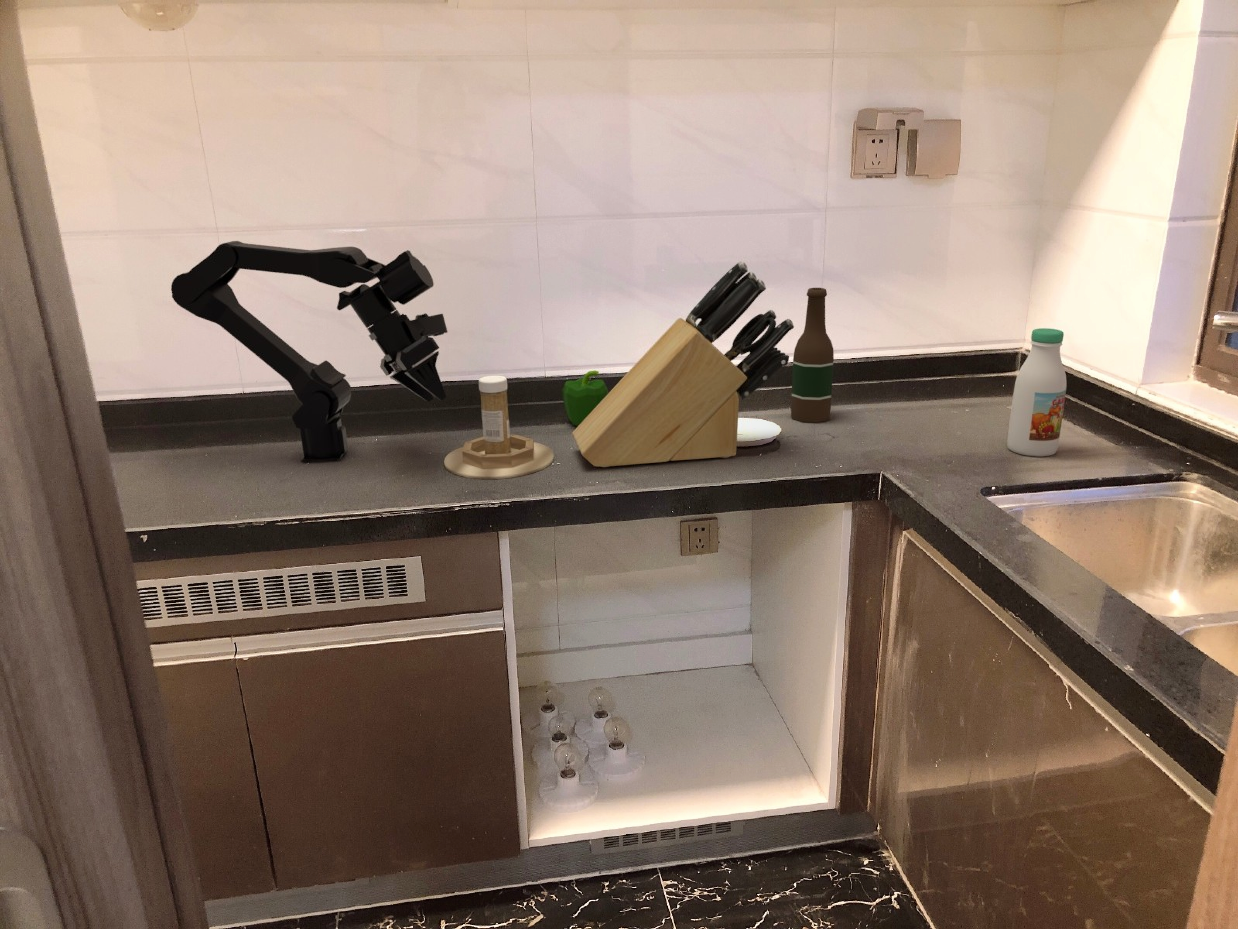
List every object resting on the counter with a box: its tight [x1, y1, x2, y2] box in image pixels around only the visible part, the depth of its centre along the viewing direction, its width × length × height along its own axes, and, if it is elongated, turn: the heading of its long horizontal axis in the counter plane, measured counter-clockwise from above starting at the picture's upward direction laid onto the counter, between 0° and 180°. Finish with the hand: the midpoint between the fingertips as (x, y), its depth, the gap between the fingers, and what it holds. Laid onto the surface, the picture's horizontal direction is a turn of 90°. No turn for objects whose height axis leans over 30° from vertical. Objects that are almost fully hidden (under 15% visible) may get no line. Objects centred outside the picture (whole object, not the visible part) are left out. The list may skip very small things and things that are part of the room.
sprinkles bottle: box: [478, 375, 512, 455], centre depth 150 cm, size 5×5×13 cm
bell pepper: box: [561, 370, 609, 427], centre depth 169 cm, size 8×8×10 cm
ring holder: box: [444, 433, 555, 480], centre depth 152 cm, size 18×18×3 cm
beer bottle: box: [790, 287, 835, 424], centre depth 168 cm, size 8×8×24 cm
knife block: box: [572, 260, 795, 468], centre depth 149 cm, size 11×35×31 cm, turn 101°
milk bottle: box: [1006, 327, 1067, 457], centre depth 148 cm, size 8×8×20 cm
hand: (437, 399), depth 152 cm, fingers open, 9 cm apart
